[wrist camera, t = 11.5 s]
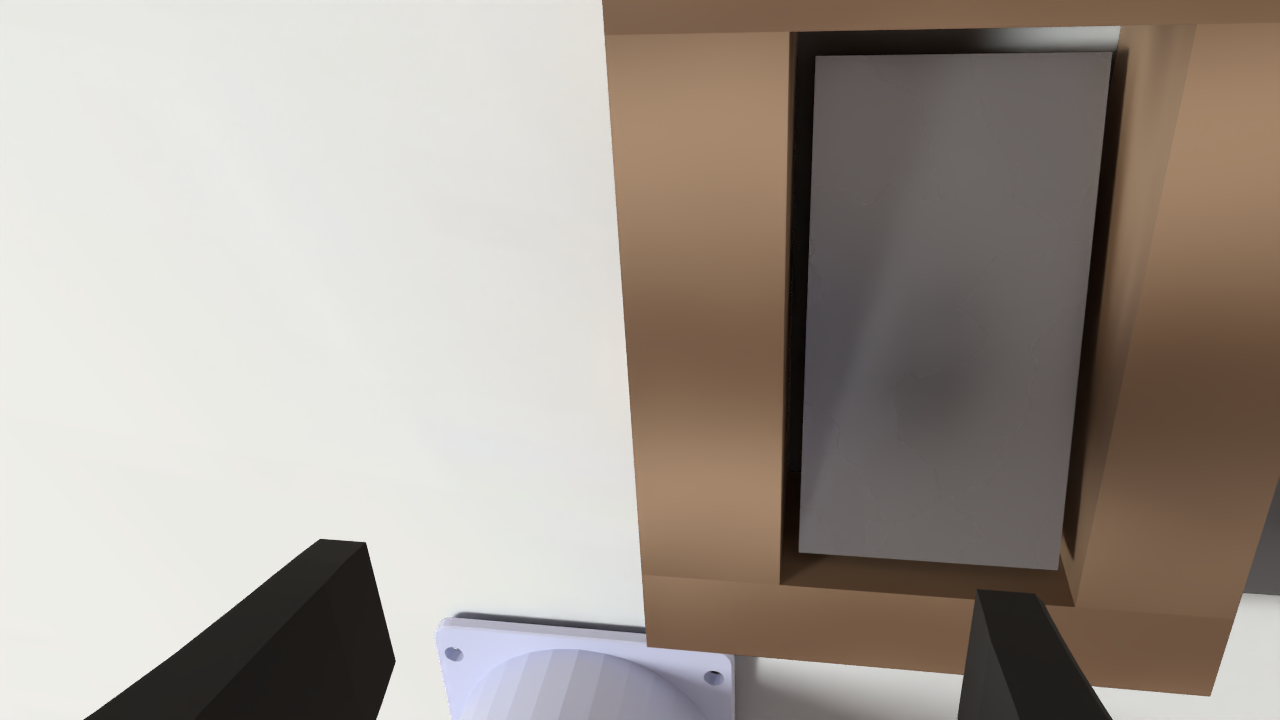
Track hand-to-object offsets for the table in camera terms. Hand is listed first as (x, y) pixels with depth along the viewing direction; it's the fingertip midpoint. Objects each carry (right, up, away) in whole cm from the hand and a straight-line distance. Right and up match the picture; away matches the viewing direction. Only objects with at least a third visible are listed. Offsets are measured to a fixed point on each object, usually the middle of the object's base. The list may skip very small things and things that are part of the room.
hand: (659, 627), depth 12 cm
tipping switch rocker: (+5, +4, +7) cm, 9 cm away
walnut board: (+6, +5, +8) cm, 11 cm away
